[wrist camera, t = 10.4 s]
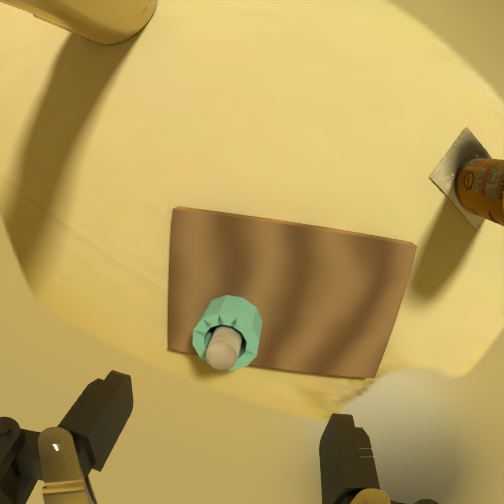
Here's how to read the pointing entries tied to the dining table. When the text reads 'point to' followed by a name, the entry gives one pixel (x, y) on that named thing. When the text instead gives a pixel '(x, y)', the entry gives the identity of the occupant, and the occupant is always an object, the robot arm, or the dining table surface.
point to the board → (287, 290)
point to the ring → (230, 314)
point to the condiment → (472, 180)
